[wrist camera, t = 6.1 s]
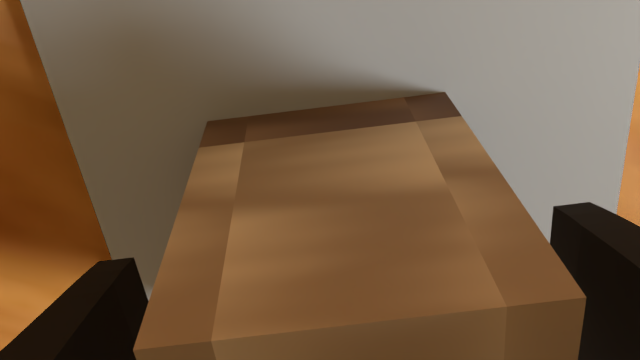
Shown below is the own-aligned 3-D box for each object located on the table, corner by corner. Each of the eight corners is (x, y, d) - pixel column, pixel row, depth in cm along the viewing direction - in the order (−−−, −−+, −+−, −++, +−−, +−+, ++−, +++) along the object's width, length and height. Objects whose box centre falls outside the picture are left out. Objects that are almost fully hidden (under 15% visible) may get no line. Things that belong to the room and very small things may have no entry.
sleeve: (247, 305, 13) (220, 591, 8) (207, 121, 11) (132, 349, 6) (446, 281, 13) (549, 554, 8) (445, 92, 11) (586, 297, 6)
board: (202, 486, 17) (199, 505, 17) (-80, -338, 8) (-105, -352, 8) (569, 443, 17) (577, 462, 17) (693, -443, 8) (721, -465, 8)
